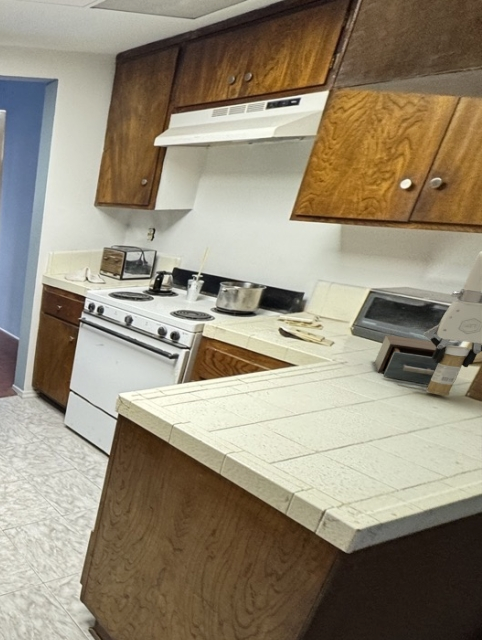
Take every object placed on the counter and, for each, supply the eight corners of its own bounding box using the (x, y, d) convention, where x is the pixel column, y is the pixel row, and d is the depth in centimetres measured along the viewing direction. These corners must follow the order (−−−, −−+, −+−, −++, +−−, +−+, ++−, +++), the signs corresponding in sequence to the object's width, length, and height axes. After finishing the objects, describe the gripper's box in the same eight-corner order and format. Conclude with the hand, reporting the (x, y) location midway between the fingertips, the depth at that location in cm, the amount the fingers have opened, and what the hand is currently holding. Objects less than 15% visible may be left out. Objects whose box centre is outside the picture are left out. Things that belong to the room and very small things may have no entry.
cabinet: (434, 381, 143) (448, 351, 140) (377, 372, 151) (390, 343, 147) (427, 370, 154) (440, 342, 150) (374, 361, 161) (386, 335, 157)
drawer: (439, 389, 134) (452, 364, 131) (385, 380, 141) (396, 355, 138) (430, 374, 147) (441, 350, 144) (380, 366, 154) (390, 343, 151)
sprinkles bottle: (448, 392, 132) (470, 347, 127) (449, 397, 129) (471, 350, 124) (425, 388, 135) (445, 343, 130) (425, 392, 132) (445, 347, 127)
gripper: (435, 296, 125) (408, 361, 132) (536, 304, 115) (500, 374, 121) (431, 292, 130) (405, 355, 137) (527, 299, 120) (493, 367, 127)
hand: (450, 363), depth 129 cm, fingers closed on sprinkles bottle, 4 cm apart
